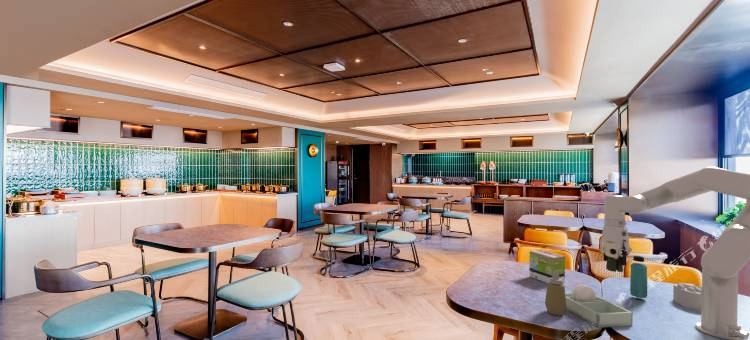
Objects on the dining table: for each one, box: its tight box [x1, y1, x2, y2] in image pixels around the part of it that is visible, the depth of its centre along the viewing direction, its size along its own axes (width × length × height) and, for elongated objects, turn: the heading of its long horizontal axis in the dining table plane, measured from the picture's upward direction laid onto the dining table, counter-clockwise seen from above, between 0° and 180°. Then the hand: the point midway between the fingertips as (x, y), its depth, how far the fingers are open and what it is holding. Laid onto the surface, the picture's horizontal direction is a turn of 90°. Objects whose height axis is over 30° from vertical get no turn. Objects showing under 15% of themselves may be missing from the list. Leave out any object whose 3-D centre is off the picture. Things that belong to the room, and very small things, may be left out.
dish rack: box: [565, 292, 634, 329], centre depth 142 cm, size 22×15×5 cm
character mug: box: [600, 241, 624, 273], centre depth 151 cm, size 11×7×13 cm, turn 74°
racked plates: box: [571, 284, 597, 301], centre depth 148 cm, size 3×9×9 cm, turn 98°
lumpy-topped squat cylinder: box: [672, 282, 702, 311], centre depth 154 cm, size 10×13×9 cm
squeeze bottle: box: [544, 270, 567, 317], centre depth 143 cm, size 8×8×18 cm
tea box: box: [528, 249, 566, 284], centre depth 186 cm, size 15×10×15 cm, turn 25°
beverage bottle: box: [629, 255, 649, 299], centre depth 160 cm, size 6×7×20 cm
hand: (614, 262), depth 151 cm, fingers closed on character mug, 7 cm apart
